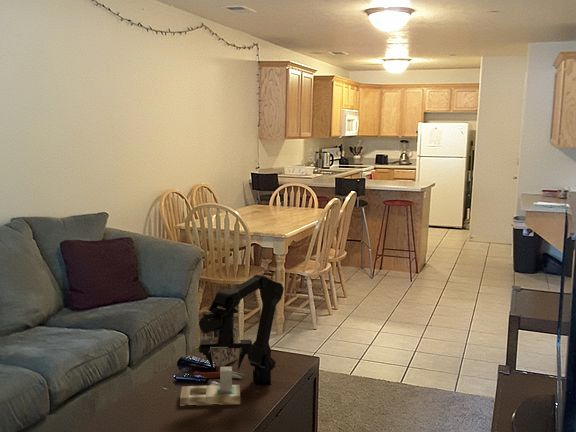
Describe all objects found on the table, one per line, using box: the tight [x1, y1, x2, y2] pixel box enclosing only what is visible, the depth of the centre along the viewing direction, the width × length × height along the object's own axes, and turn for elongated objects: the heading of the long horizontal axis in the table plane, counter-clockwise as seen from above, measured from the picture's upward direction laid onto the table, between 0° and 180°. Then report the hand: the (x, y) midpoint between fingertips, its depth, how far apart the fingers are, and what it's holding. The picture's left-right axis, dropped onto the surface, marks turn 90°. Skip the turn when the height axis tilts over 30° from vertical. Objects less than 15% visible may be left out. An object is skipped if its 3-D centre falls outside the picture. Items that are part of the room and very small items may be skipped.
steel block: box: [219, 366, 233, 393], centre depth 221 cm, size 4×4×8 cm
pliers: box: [192, 365, 247, 380], centre depth 243 cm, size 12×20×3 cm, turn 72°
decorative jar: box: [199, 325, 239, 367], centre depth 258 cm, size 12×12×18 cm
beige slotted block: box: [179, 384, 241, 407], centre depth 221 cm, size 21×10×3 cm, turn 96°
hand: (225, 369), depth 220 cm, fingers open, 9 cm apart
